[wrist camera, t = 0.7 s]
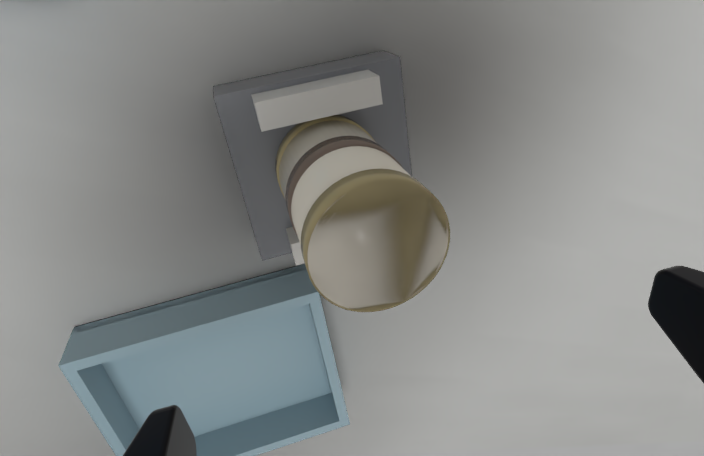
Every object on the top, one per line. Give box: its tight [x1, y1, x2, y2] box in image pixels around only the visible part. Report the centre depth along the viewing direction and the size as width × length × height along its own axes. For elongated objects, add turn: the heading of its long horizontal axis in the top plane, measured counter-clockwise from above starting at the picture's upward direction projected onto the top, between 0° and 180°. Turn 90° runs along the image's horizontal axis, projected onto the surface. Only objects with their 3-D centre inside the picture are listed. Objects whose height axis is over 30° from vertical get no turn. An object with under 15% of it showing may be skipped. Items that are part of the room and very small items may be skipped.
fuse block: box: [213, 51, 412, 265], centre depth 19 cm, size 7×7×3 cm
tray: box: [58, 264, 350, 456], centre depth 23 cm, size 9×11×2 cm
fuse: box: [275, 115, 450, 312], centre depth 16 cm, size 4×4×7 cm
